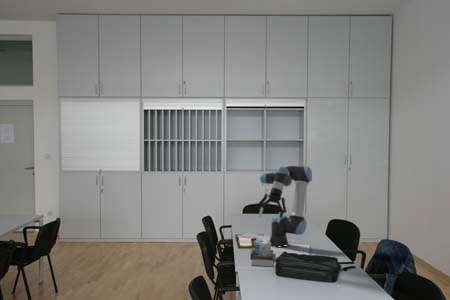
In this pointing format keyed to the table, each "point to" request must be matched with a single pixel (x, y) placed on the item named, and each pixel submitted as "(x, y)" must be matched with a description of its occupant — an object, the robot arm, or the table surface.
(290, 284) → the table surface
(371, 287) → the table surface
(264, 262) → the slate mat
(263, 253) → the light bulb box
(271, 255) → the brown wooden square frame
